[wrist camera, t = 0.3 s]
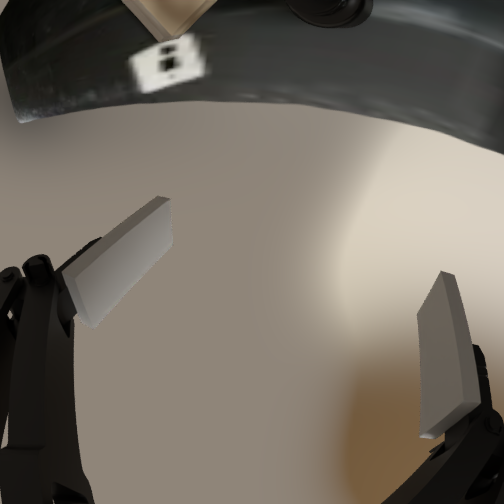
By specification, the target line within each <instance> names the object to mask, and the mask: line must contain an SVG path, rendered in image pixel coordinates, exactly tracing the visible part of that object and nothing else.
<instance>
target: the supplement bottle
mask: <svg viewBox="0 0 504 504" xmlns="http://www.w3.org/2000/svg"><path fill="white" fill-rule="evenodd" d="M284 1H286V4H287V5H288V7H289V9H290V10H291V11H292V12H293V13H294V14H295V15H296V16H297V17H298V18H299V19H301V20H302V21H304V22H306V23H308V24H310V25H313V26H317V27H321V28H350V27H355V26H357V25H360V24H361V23H363V22H364V21H365V20H367V18H368V17H369V16H370V14H371V12H372V9H373V0H284Z"/></svg>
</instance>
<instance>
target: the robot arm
mask: <svg viewBox="0 0 504 504" xmlns="http://www.w3.org/2000/svg"><path fill="white" fill-rule="evenodd" d="M172 245H173V239H172V221H171V201H170V199H169V198H165V197H160V196H157V197H155V198H154V199H153V200H151V201H150V202H149V203H147V204H146V205H145V206H143V207H142V208H140V209H139V210H138V211H136V212H135V213H134V214H132V215H131V216H130V217H128V218H127V219H126V220H125V221H124V222H122V223H120V224H119V225H118V226H117V227H115V228H114V229H113V230H112V231H110V232H109V233H108V234H106V235H105V236H104V237H103V238H102V237H99V238H97V239H95V240H93V241H90V242H89V243H88V244H87V245H85V246H84V247H83V248H82V250H80V251H78V252H77V253H76V255H74V256H72V257H71V258H70V259H68V260H67V261H66V262H65V263H64V264H63V265H62V266H60V267H59V268H58V269H57V270H56V271H54V269H53V266H52V264H51V261H50V258H49V257H48V256H47V255H44V254H41V255H35V256H33V257H31V258H29V259H28V260H27V261H26V262H25V263H24V264H23V266H22V269H23V271H24V274H25V276H26V277H22V274H21V272H20V270H19V268H17V267H14V266H13V267H8V268H6V269H4V270H3V271H2V272H0V449H1V444H2V439H3V434H4V429H5V424H6V420H7V416H8V444H7V446H6V447H4V448H2V449H1V450H0V491H1V499H2V504H53V500H54V503H55V504H95V503H94V500H93V495H92V490H91V487H90V484H89V481H88V479H87V478H86V476H85V474H84V472H83V470H82V464H81V459H80V451H79V443H78V435H77V425H76V412H75V397H74V365H73V364H74V319H73V317H74V316H75V314H77V313H78V316H79V318H80V321H81V323H83V324H85V325H87V326H88V327H90V328H92V329H94V328H96V326H97V325H98V324H99V323H100V322H101V321H102V319H104V317H105V316H106V315H107V314H108V313H109V312H110V311H111V310H112V309H113V308H114V306H115V305H116V304H117V303H118V302H119V301H120V300H121V299H122V298H123V297H124V296H125V294H126V293H127V292H128V291H129V290H130V289H131V288H132V287H133V286H134V285H135V284H136V283H137V281H139V280H140V278H141V277H142V276H143V275H144V274H145V273H146V272H147V271H148V270H149V269H150V268H151V267H152V266H153V265H154V264H155V263H156V262H157V261H158V260H159V259H160V258H161V256H163V255H164V254H165V253H166V252H167V250H169V248H170V247H171V246H172ZM9 310H10V311H11V313H12V314H13V316H12V318H11V319H9V317H8V315H7V314H8V312H9ZM417 320H418V332H419V344H420V345H419V347H420V368H421V369H420V370H421V411H420V433H419V437H422V438H431V439H436V438H438V437H439V436H441V435H442V434H443V433H445V441H443V442H442V443H441V444H439V445H438V446H436V447H435V448H433V449H432V450H430V451H429V452H430V453H432V452H433V451H434V452H433V453H432V454H431V455H430V456H429V457H428V458H427V460H426V461H425V462H424V463H423V464H422V465H421V466H420V467H419V468H418V469H417V470H416V471H415V472H414V473H413V474H412V476H410V477H409V478H408V479H407V480H406V481H405V482H404V483H403V484H402V485H401V486H400V487H399V488H398V489H397V490H396V491H395V492H394V493H392V494H391V495H390V496H389V497H388V498H387V499H386V500H385V501H384V502H382V503H381V504H504V423H503V420H502V417H501V416H500V414H499V413H498V412H497V411H495V410H494V409H493V408H492V400H491V393H490V385H489V379H488V378H487V377H488V373H487V369H486V362H485V357H484V354H483V353H482V351H481V349H480V348H479V346H478V345H474V344H472V341H471V337H470V332H469V327H468V323H467V319H466V315H465V311H464V307H463V303H462V300H461V296H460V293H459V289H458V285H457V282H456V279H455V276H454V275H453V274H450V273H446V272H443V271H441V272H440V274H439V275H438V277H437V279H436V281H435V283H434V285H433V287H432V289H431V290H430V292H429V294H428V296H427V298H426V300H425V301H424V303H423V305H422V307H421V308H420V310H419V312H418V313H417ZM8 412H9V413H8Z"/></svg>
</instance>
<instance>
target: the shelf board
mask: <svg viewBox="0 0 504 504" xmlns="http://www.w3.org/2000/svg"><path fill="white" fill-rule="evenodd" d="M122 1H123V3H124V4H125V5H126V6H127V7H128V8H129V9H130V10H131V11H132V12H133V13H134V14H135V16H136V17H137V18H138V19H139V20H140V21H141V22H142V23H143V24H144V26H145V27H146V28H147V29H148V30H149V31H150V32H151V33H152V35H153V36H154V37H155V38H156V39H157V40H158V41H159V43H160V42H164V41H169V40H174V39H179V38H180V37H181V36H182V35H183V34H184V33H185V32H186V31H187V30H188V29H189V28H190V26H191V25H192V24H193V23H194V22H195V21H196V20H197V19H198V18H199V17H200V16H201V15H202V14H203V13H205V12H206V11H207V10H208V9H209V8H210V7H211V6H212V5H213V4H214V3H215V2H216V1H217V0H122Z"/></svg>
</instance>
